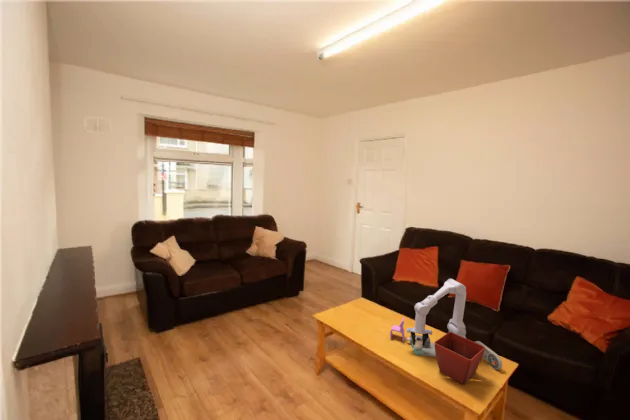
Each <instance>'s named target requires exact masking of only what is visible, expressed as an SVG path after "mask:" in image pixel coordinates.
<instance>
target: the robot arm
mask: <svg viewBox="0 0 630 420" xmlns="http://www.w3.org/2000/svg"><path fill="white" fill-rule="evenodd" d="M466 290H467V287H466V286H465V285H464V284H463V283H461V282H459V281H457V280H455V279H453V278H448V279H447V280H446V281H444V283H443V286H441V287H440V289H438V290H437V291H436V292H435V293H433V294H432V295H431V294H429V295H427V297H425V299H423V300H421V301H420V302H417V303H415V304H414V306H413V308H414V311H415V318H414V327H407V328H406V333H407V334H409V333H410V335H411V336H412V341H413V345H415V338H416V335H421V336H422V340H423V346H424V344H425V342H426V340H427V339H428V338H429V337H430V336H432V335H433V331H432V330H431V329H426V318H427V315H428V314H429V311H430V310H431V308H433V307H434V306H435V305H437V304H438V301H439V300H440V299H441V298H443V297H445V295H448V294H453V295H455V298H454V307H453V311H452V312H453V313H452V318H450V319H449V322H448V323H447V325H446V326H447V327H446V328H447V330H448V333H449V332H452V333H454V334H457V335H459V336H461V337H464V338H466V339H467V337H466V334H467V330H466V325H465V323H464V321H463V319H464V315H465V314H464V312H465V307H466V299H467V291H466ZM429 335H430V336H429Z"/></svg>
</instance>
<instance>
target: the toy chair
mask: <svg viewBox="0 0 630 420" xmlns="http://www.w3.org/2000/svg"><path fill="white" fill-rule="evenodd" d="M404 320H405V317H402V319H401V321H400V324H399V325H396V324H393V325H392V327H391V330H390V332H389V335H390V336H389V337H390V338H389V339H390V340H392V339H393V332H396V333H400V334H401V337H402V342H404V341H405V339H406V336H405V328H404V325H405V324H404V323H405V321H404Z"/></svg>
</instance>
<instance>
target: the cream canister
mask: <svg viewBox="0 0 630 420" xmlns="http://www.w3.org/2000/svg"><path fill="white" fill-rule="evenodd" d="M422 346H423V340H422V339H421V338H419V337H416V338H415V345H414V348H415V349H417V350H422Z"/></svg>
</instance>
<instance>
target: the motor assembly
mask: <svg viewBox="0 0 630 420" xmlns="http://www.w3.org/2000/svg"><path fill="white" fill-rule="evenodd" d="M415 335H416V337H419V338H421V339H422V335H421V334H415ZM406 341H409V343H410V345H411V348H412V351H413V353H414V355H415V356H420V357H421V356H422V357H435V358H436V353H435V344H434V342H432V341H431V337H430V336H429V338H428V339H427V340H426V342H425V344H424V346H422V350H417V349H415V348H414V345H413V341H412V336H411V334H410V335H409V337H406Z"/></svg>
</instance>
